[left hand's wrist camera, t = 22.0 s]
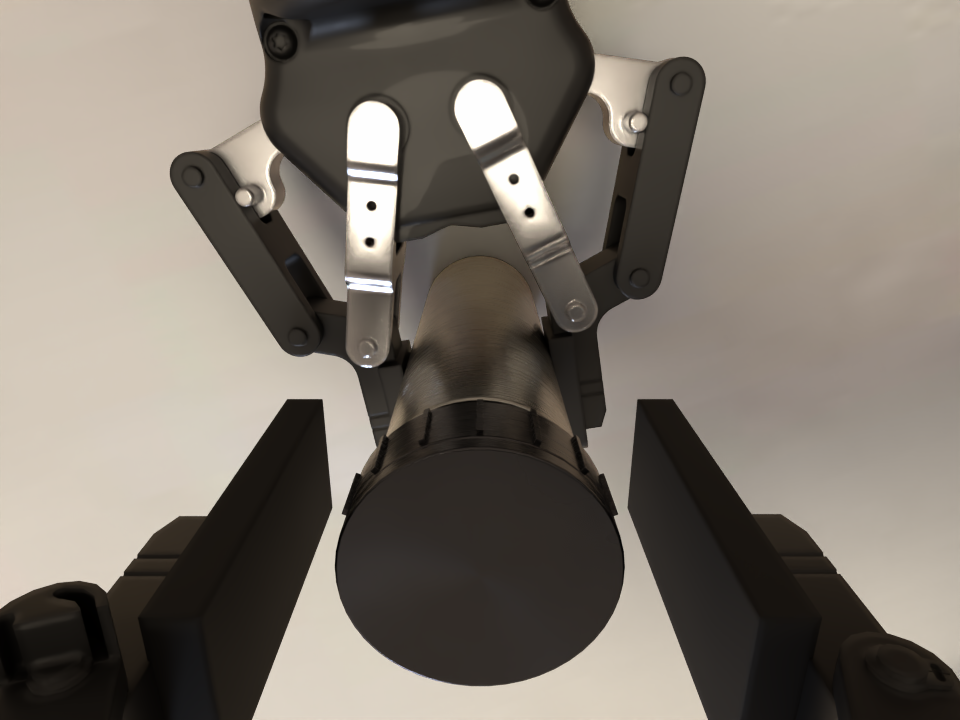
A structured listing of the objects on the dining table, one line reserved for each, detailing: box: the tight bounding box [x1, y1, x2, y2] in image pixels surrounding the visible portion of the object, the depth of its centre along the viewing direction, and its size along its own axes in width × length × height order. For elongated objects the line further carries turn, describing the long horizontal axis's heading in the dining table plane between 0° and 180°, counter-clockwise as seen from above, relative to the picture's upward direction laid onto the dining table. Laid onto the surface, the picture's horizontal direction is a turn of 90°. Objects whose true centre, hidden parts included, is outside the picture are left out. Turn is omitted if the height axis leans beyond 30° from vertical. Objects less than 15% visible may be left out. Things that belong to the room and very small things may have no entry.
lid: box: [335, 399, 625, 686], centre depth 11 cm, size 5×5×2 cm
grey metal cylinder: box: [386, 256, 573, 437], centre depth 18 cm, size 4×4×15 cm
